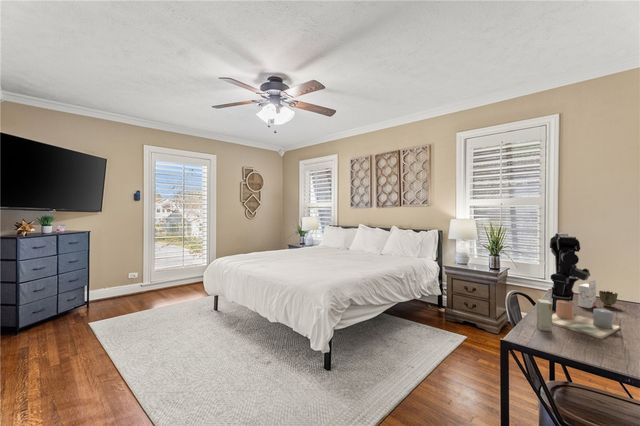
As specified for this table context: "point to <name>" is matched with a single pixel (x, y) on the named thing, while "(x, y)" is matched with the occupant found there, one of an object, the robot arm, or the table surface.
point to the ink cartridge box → (587, 295)
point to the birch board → (583, 326)
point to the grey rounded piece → (603, 318)
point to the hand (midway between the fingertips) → (565, 293)
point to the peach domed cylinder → (564, 309)
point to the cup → (608, 298)
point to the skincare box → (544, 315)
